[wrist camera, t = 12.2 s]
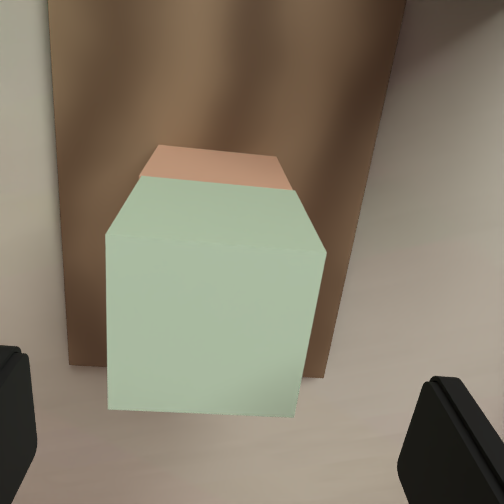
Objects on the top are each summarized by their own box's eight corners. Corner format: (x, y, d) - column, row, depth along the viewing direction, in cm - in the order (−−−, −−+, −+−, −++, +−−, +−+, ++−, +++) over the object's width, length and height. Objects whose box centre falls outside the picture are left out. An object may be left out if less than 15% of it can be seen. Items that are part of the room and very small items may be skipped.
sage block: (295, 190, 18) (326, 252, 13) (274, 318, 21) (293, 417, 15) (141, 175, 18) (105, 234, 12) (138, 309, 20) (107, 409, 15)
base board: (400, -5, 22) (408, -7, 21) (320, 368, 31) (323, 378, 30) (52, -54, 20) (44, -58, 19) (74, 354, 29) (69, 364, 28)
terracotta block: (276, 156, 24) (292, 189, 18) (262, 261, 26) (272, 318, 21) (158, 144, 23) (138, 175, 18) (155, 253, 25) (137, 310, 20)
